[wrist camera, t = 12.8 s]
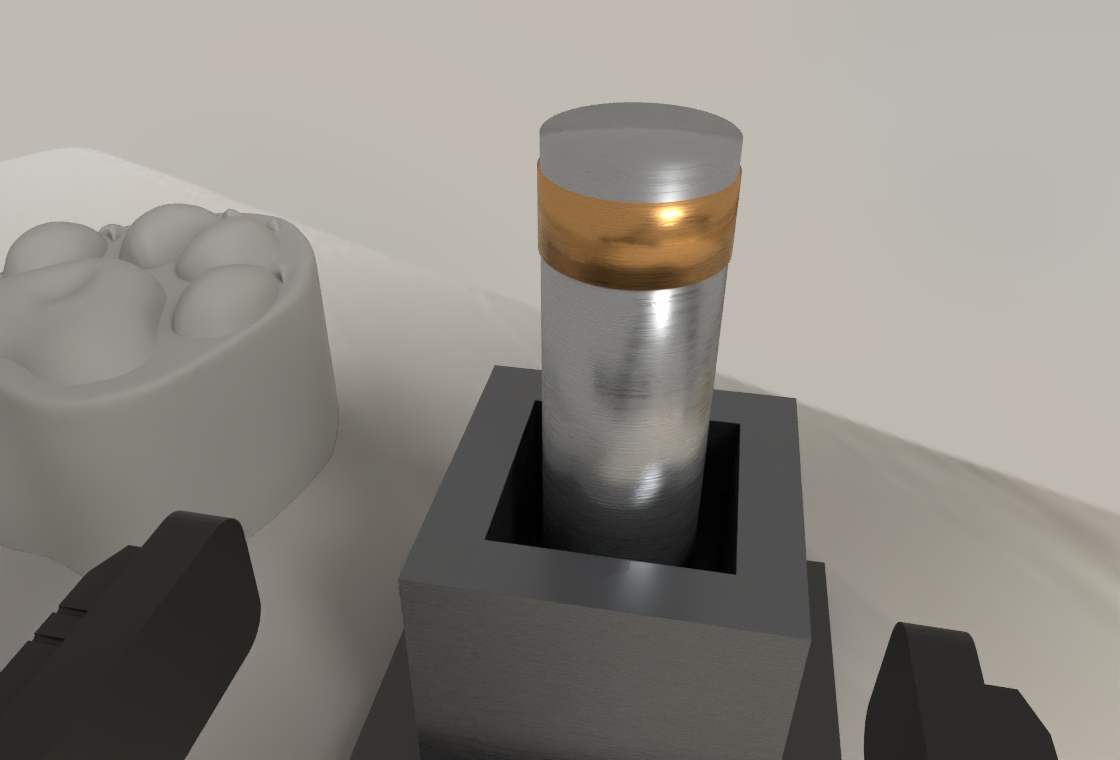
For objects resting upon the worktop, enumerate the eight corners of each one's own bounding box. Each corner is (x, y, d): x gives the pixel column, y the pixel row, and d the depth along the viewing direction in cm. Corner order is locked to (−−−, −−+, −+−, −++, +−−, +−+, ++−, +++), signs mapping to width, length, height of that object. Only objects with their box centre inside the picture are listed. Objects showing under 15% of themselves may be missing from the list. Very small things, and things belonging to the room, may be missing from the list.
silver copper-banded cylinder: (687, 611, 25) (746, 107, 17) (677, 725, 22) (745, 175, 14) (556, 593, 26) (557, 96, 18) (529, 702, 22) (516, 160, 15)
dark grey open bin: (818, 585, 29) (870, 375, 24) (847, 954, 20) (937, 727, 15) (454, 534, 30) (439, 330, 26) (326, 852, 21) (270, 621, 17)
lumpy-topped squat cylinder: (-63, 521, 31) (-174, 297, 26) (204, 342, 41) (160, 156, 36) (173, 617, 27) (94, 380, 23) (401, 396, 37) (381, 199, 32)
